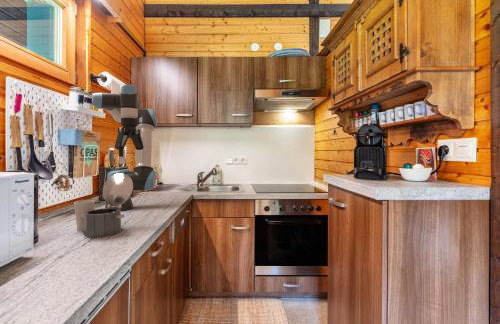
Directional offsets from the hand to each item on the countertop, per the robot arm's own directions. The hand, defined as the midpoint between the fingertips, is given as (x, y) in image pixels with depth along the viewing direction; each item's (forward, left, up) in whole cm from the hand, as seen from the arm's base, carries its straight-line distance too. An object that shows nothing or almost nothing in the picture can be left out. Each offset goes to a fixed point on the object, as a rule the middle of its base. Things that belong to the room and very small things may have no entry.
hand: (130, 163), depth 134 cm
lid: (+11, 0, -12) cm, 16 cm away
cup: (+15, -13, -28) cm, 35 cm away
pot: (+20, 0, -28) cm, 34 cm away
